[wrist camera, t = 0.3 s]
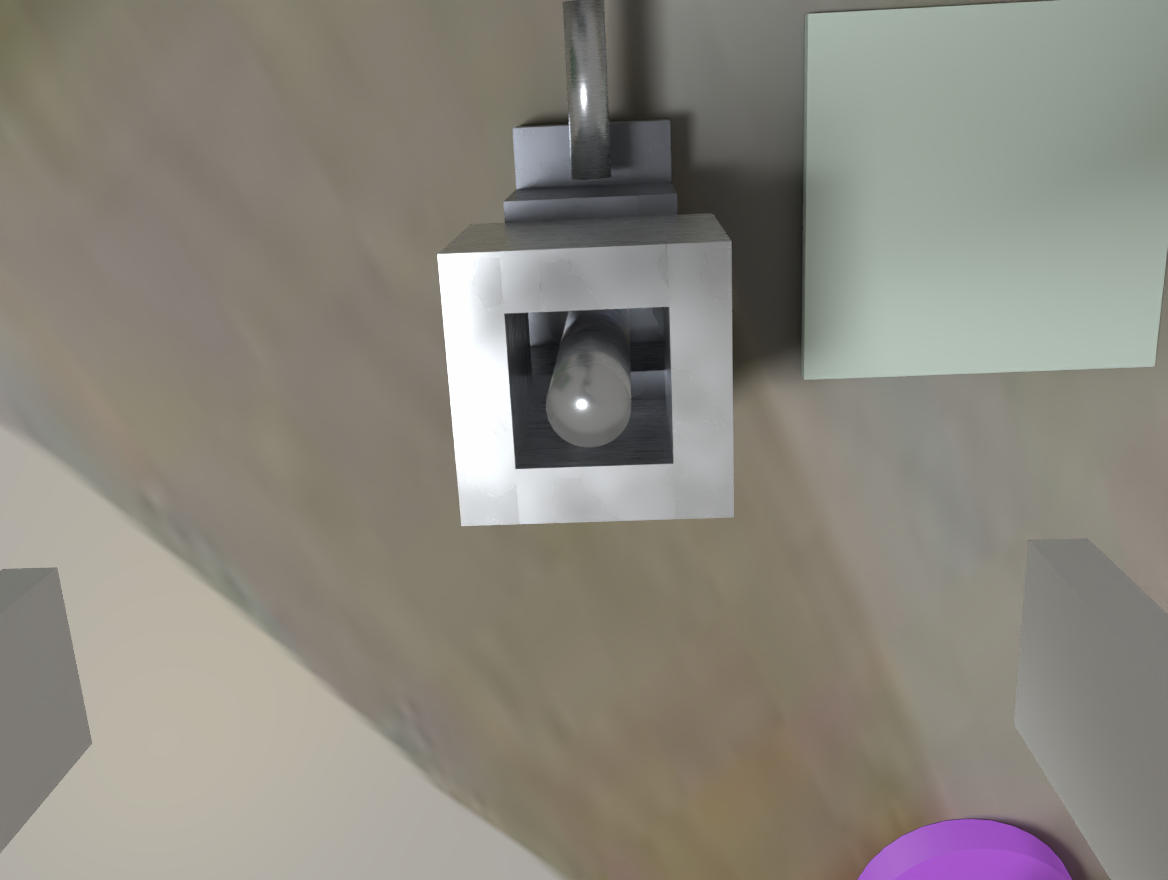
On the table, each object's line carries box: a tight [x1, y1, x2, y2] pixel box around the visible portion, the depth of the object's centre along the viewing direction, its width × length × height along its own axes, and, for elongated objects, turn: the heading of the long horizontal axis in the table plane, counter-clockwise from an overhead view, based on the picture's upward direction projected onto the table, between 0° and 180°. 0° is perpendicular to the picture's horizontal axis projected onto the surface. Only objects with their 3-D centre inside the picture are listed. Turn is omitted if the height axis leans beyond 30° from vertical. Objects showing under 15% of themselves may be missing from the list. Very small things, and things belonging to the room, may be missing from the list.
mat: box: [801, 0, 1168, 380], centre depth 37 cm, size 12×12×1 cm
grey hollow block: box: [437, 213, 734, 526], centre depth 30 cm, size 7×7×6 cm
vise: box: [504, 0, 678, 447], centre depth 32 cm, size 16×5×14 cm, turn 3°
